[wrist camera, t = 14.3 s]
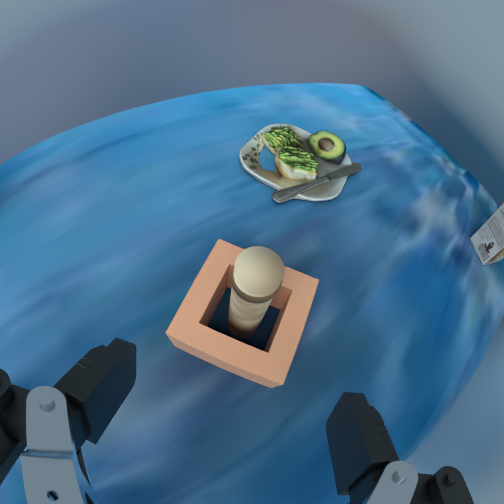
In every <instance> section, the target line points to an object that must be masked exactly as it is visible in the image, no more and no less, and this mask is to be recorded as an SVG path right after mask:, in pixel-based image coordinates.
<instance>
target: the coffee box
mask: <svg viewBox="0 0 504 504" xmlns="http://www.w3.org/2000/svg"><path fill="white" fill-rule="evenodd" d="M470 240H471V242H472V244H473V246H474V248H475V250H476V252H477V254H478V256H479V258H480V260H481V262H482V265H483V266H484V265H488V264H491V263H495V262H498V261H501V260H502V259H503V258H504V203H503V204H502V205H501V206H500V207H499V208H498V210H497V211H496V212H495V213H494V214H493V215H492V216H491V217H490V218H489V219H488V220H487V221H486V222H485V223H484V225H483V226H482V227H481V228H480V229H479V230H478V231H477V232H476V233H475V234H474V235H473V236H472V237H471V238H470Z"/></svg>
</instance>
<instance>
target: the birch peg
mask: <svg viewBox="0 0 504 504" xmlns="http://www.w3.org/2000/svg"><path fill="white" fill-rule="evenodd" d="M284 273H285V267H284V263H283V261H282V259H281V257H280V256H279V255H278V254H277V253H276V252H275V251H273V250H271V249H269V248H267V247H263V246H253V247H249V248H247V249H245V250H243V251H242V252H241V253H240V254H239V255H238V257H237V258H236V261H235V265H234V267H233V270H232V278H231V283H232V289H231V297H230V304H229V312H228V320H227V328H228V331H229V332H230V334H231V335H232V336H234V337H235V338H238V339H247V338H250V337H251V336H253V335H254V333H255V332H256V330H257V328H258V326H259V324H260V322H261V320H262V318H263V317H264V315H265V313H266V311H267V309H268V307H269V305H270V303H271V301H272V299H273V297H274V296H275V295H276V294H277V292H278V291H279V289H280V287H281V284H282V280H283V277H284Z"/></svg>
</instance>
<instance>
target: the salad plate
mask: <svg viewBox="0 0 504 504" xmlns="http://www.w3.org/2000/svg"><path fill="white" fill-rule="evenodd" d="M264 146H266V147H267V149H268V150H269V151H270V152H271V153H273V154H274V155H275V163H276V166H277V167H276V171H268V170H264V169H262V167H261V165H260V163H259V155H260V152H261V150H262V148H263V147H264ZM239 154H240V156H239V160H240V162H241V164H242V167H243V169H244V170H245V171H246V172H248V173H249V174H250V175H251V176H253V177H254V178H255V179H256V180H258V181H259V182H261V183H263V184H265V185H267V186H269V187H271V188H273V189H275V190H277V191H276V192H274V193H273V194H272V198H273V200H274V201H275V202H278V203H282V202H286V201H288V200H291V199H302V200H308V201H325V200H332V199H333V198H335V197H337V196H338V195H339V193H340V192H341V191H342V189H343V186H344V184H345V182H346V179H347V177H348V176H349V175H352V174H354V173H356V172H358V171H359V170H360V169H361V165H360V164H358V163H353V162H352V161H351V160H350V158H349V156H348V155H347V153H346V146H345V143H344V141H343V140H342V139H341V138H340V137H339V136H337V135H336V134H334V133H331V132H328V131H320V132H319V131H317V132H316V134H311V133H309V132H307V131H305V130H303V129H301V128H298V127H296V126H293V125H289V124H271V125H268V126H266V127H264V128H262V129H261V130H260V131H259V132H258V133H257V134H256V135H255V136H254V137H252V139H251V140H249V141H247V143H246V144H245V145H244V146H243V147H242V148H241V150H240V153H239ZM317 176H318V177H320V178H316V177H317Z"/></svg>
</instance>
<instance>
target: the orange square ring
mask: <svg viewBox="0 0 504 504" xmlns="http://www.w3.org/2000/svg"><path fill="white" fill-rule="evenodd" d="M243 250H245V249H243V248H240V247H238V246H235V245H233V244H230V243H228V242H226V241H223V240H221V239H218V241H217V243H216V244H215V246H214V248H213V249H212V251H211V253H210V255H209V256H208V258H207V260H206V262H205V263H204V265H203V267H202V268H201V270H200V272H199V274H198V275H197V277H196V279H195V281H194V283H193V284H192V286H191V288H190V290H189V291H188V293H187V295H186V297H185V299H184V300H183V302H182V304H181V306H180V308H179V309H178V311H177V313H176V315H175V317H174V318H173V320H172V322H171V324H170V326H169V328H168V330H167V331H166V335H167V336H168V337H169V339H170V340H171V342H172V343H173V344H174V346H176V347H178V348H180V349H182V350H184V351H186V352H188V353H190V354H192V355H194V356H196V357H198V358H200V359H202V360H204V361H207V362H209V363H211V364H213V365H215V366H218V367H220V368H222V369H224V370H227V371H229V372H231V373H234V374H236V375H239V376H241V377H243V378H246V379H248V380H251V381H253V382H256V383H259V384H261V385H264V386H267V387H269V388H273V387H277V386H280V385H283V383H284V381H285V378H286V376H287V373H288V370H289V368H290V365H291V362H292V360H293V357H294V354H295V352H296V349H297V346H298V343H299V340H300V337H301V335H302V332H303V329H304V326H305V323H306V320H307V317H308V314H309V311H310V308H311V304H312V301H313V298H314V295H315V292H316V288H317V285H318V282H319V280H318V279H316V278H313V277H311V276H308V275H306V274H304V273H301V272H299V271H296V270H294V269H291V268H289V267H286V266H284V267H285V273H284V277H283V280H282V284H281V287H280V289H279V291H278V292H277V294H276V295H275V296H274V297H273V299H272V301H271V303H270V305H271V306H273V307H276V308H278V309H280V312H279V314H278V317H277V320H276V322H275V325H274V327H273V330H272V332H271V335H270V337H269V340H268V342H267V345H266V347H265V350H264V351H262V350H260V349H257V348H255V347H252V346H250V345H247V344H245V343H243V342H240V341H238V340H236V339H233V338H231V337H229V336H226V335H224V334H222V333H220V332H217V331H215V330H213V329H211V328H209V327H207V326H208V324H209V322H210V320H211V318H212V316H213V314H214V312H215V310H216V308H217V306H218V304H219V302H220V300H221V298H222V296H223V294H224V292H225V290H226V288H227V287H228V288H230V289H232V283H231V278H232V270H233V267H234V265H235V261H236V258H237V257H238V255H239V254H240V253H241V252H242V251H243Z"/></svg>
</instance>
